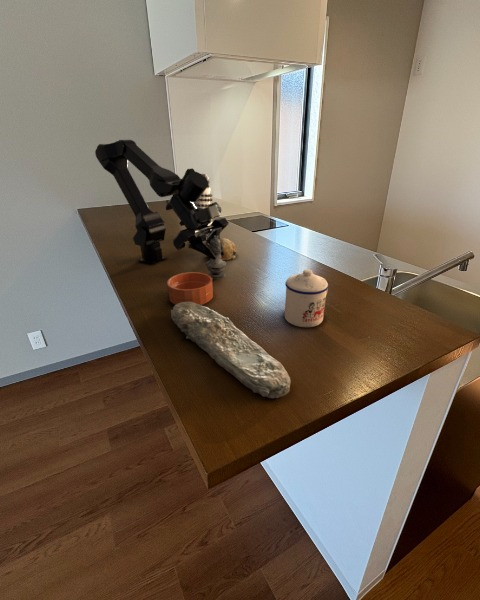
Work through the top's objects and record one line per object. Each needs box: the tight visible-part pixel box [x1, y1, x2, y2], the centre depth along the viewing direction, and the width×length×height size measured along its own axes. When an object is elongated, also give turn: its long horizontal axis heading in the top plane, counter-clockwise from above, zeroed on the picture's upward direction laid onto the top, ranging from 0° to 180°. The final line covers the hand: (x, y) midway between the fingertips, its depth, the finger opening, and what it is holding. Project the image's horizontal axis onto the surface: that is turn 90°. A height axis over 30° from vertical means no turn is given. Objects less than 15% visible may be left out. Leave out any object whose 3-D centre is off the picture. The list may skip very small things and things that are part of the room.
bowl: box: [166, 271, 214, 306], centre depth 81 cm, size 11×11×5 cm
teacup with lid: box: [284, 268, 329, 328], centre depth 71 cm, size 12×9×12 cm
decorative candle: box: [193, 173, 214, 240], centre depth 120 cm, size 9×9×25 cm
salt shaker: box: [205, 236, 227, 280], centre depth 91 cm, size 6×6×12 cm
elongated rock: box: [170, 302, 292, 399], centre depth 62 cm, size 35×5×10 cm
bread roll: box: [208, 237, 237, 261], centre depth 109 cm, size 10×10×8 cm
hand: (219, 256), depth 90 cm, fingers closed on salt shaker, 3 cm apart
